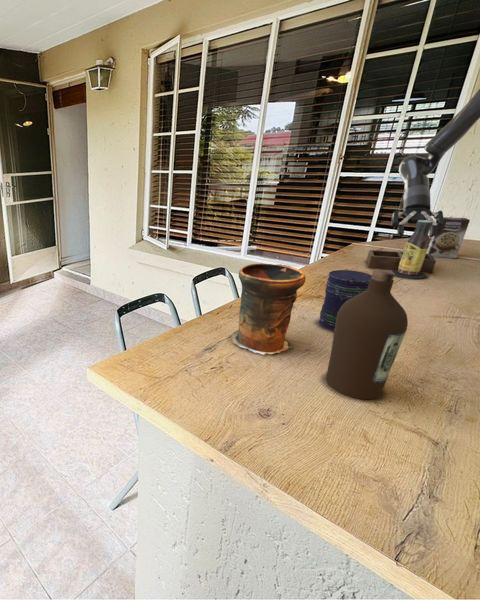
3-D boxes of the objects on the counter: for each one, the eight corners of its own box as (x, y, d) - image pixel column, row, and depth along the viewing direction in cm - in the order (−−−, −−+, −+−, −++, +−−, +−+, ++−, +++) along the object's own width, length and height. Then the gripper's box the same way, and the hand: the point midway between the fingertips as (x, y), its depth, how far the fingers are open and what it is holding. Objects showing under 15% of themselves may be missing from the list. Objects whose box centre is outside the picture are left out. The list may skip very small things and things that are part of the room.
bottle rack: (426, 265, 140) (429, 253, 138) (432, 273, 132) (436, 260, 130) (366, 261, 150) (369, 249, 148) (368, 267, 142) (371, 256, 140)
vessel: (271, 363, 82) (284, 284, 75) (219, 341, 94) (226, 270, 86) (303, 345, 89) (318, 270, 82) (252, 326, 101) (261, 259, 93)
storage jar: (316, 316, 104) (326, 268, 98) (356, 321, 100) (369, 271, 94) (320, 331, 96) (331, 279, 90) (365, 336, 91) (379, 283, 86)
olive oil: (313, 383, 74) (338, 272, 65) (334, 366, 80) (360, 261, 71) (373, 409, 66) (412, 285, 57) (393, 387, 72) (431, 272, 62)
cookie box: (427, 256, 151) (439, 218, 145) (424, 253, 156) (436, 216, 150) (457, 258, 146) (470, 219, 140) (453, 255, 151) (466, 217, 145)
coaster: (423, 272, 133) (423, 271, 133) (428, 280, 125) (429, 279, 125) (389, 270, 138) (389, 268, 138) (392, 277, 130) (392, 276, 130)
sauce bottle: (393, 271, 135) (407, 219, 128) (412, 271, 134) (427, 218, 127) (404, 276, 129) (420, 222, 122) (423, 276, 128) (441, 221, 121)
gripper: (396, 193, 134) (395, 229, 129) (446, 193, 127) (448, 230, 122) (389, 206, 140) (388, 240, 135) (436, 206, 134) (437, 242, 129)
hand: (416, 235), depth 129 cm, fingers open, 8 cm apart
